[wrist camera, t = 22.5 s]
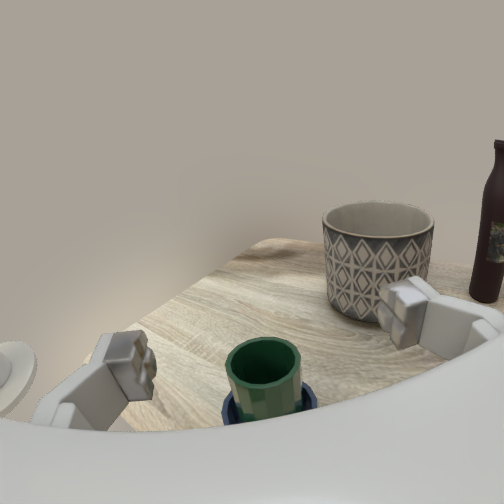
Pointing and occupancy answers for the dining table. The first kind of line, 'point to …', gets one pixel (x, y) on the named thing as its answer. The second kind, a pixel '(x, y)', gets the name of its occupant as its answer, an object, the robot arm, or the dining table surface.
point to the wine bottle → (490, 235)
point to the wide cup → (232, 415)
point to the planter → (373, 252)
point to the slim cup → (265, 378)
